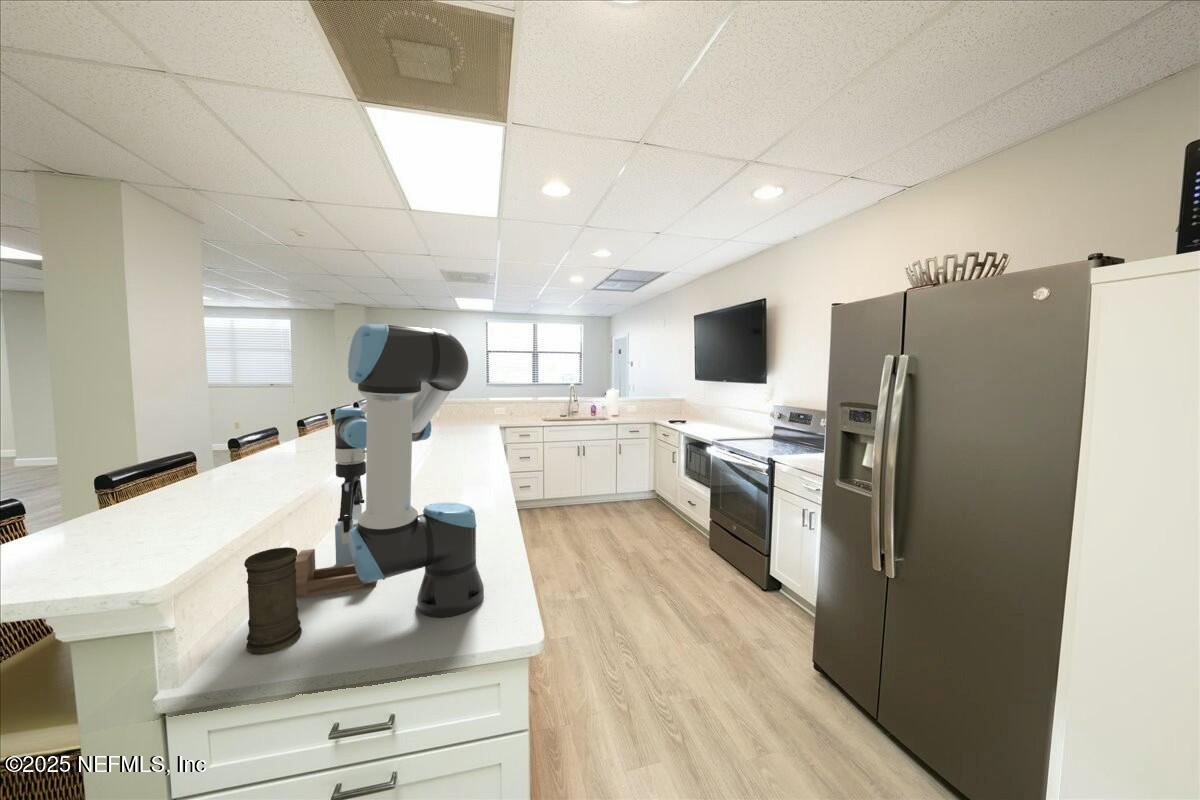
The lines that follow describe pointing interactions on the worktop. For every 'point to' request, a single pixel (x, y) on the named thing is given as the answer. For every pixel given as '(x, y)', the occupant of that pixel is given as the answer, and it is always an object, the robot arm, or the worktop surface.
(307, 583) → the frame
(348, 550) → the door
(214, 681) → the worktop surface
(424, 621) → the worktop surface
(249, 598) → the container
